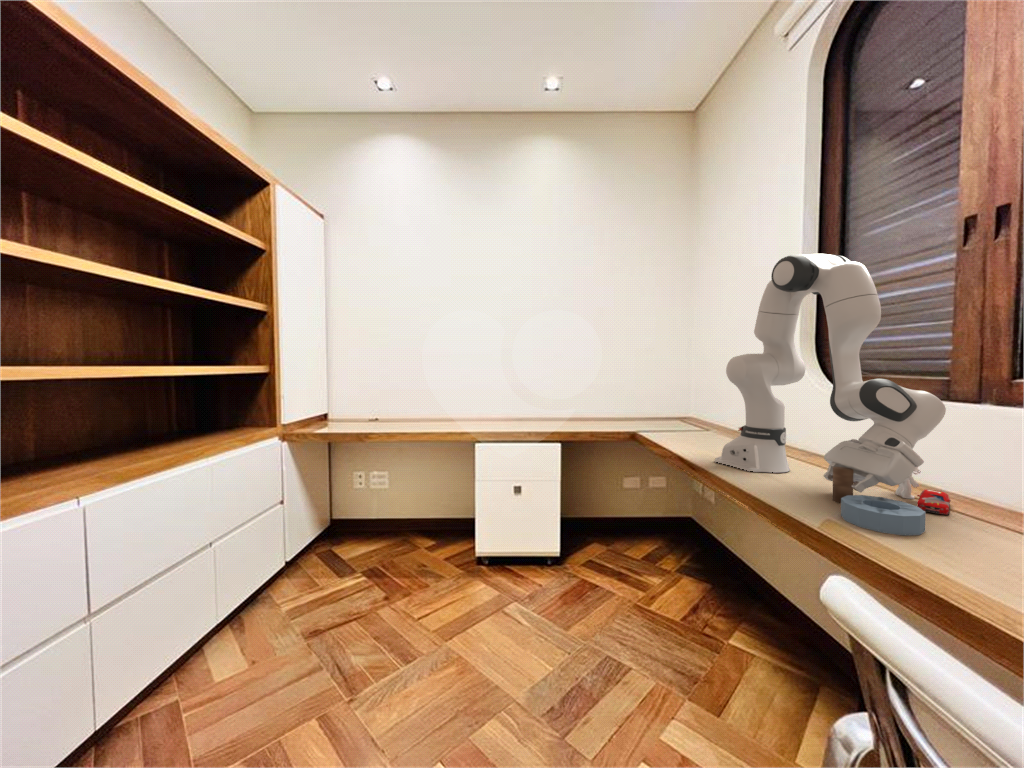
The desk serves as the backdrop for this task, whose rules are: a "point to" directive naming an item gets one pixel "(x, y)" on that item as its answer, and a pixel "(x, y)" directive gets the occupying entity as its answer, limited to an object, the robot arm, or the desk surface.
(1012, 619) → the desk surface
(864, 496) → the bead
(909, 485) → the white figurine
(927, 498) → the race car
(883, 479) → the robot arm
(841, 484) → the dowel
